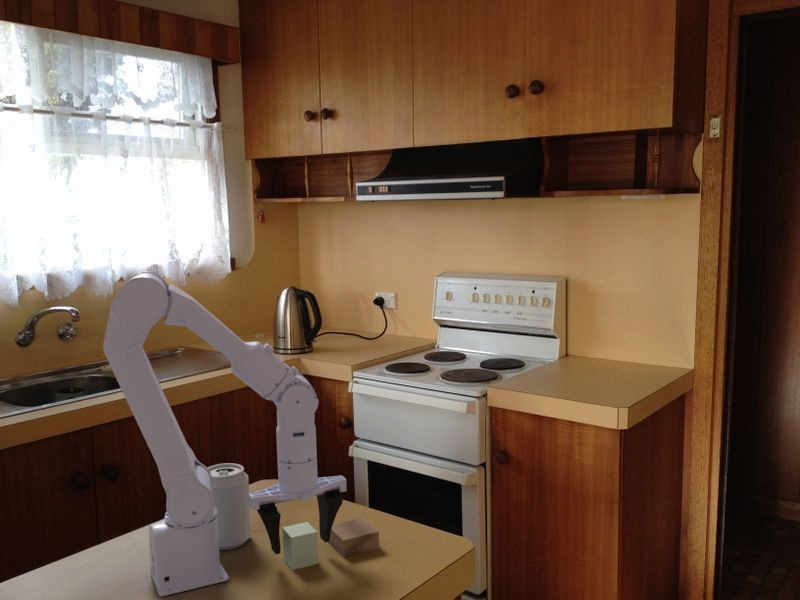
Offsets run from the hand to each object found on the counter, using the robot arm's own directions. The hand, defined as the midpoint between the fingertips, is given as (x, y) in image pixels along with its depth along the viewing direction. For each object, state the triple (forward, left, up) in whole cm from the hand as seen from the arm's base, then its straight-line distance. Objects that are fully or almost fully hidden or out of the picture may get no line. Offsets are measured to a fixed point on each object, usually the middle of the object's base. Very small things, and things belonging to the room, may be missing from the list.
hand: (300, 545), depth 111 cm
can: (-8, +12, -3) cm, 15 cm away
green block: (0, 0, -3) cm, 3 cm away
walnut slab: (+9, +1, -3) cm, 9 cm away
